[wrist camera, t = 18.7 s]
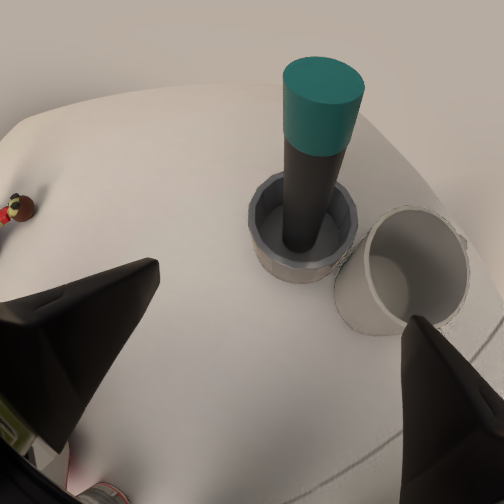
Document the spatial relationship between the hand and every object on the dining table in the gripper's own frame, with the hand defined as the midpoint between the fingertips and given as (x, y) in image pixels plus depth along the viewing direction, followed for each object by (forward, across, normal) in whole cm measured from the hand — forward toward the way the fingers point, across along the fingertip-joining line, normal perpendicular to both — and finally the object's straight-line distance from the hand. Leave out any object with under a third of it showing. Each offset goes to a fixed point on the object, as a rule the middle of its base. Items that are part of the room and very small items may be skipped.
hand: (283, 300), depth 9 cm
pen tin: (+15, 0, +5) cm, 15 cm away
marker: (+14, 0, +4) cm, 15 cm away
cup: (+13, -8, +6) cm, 17 cm away
